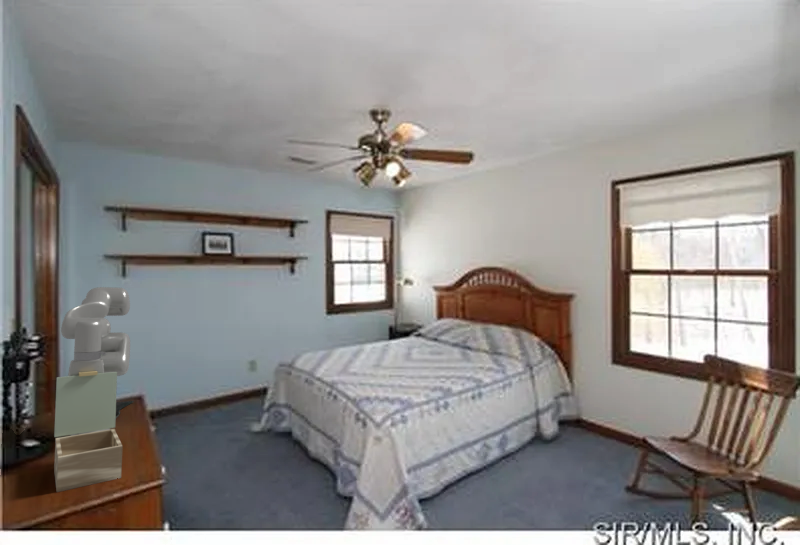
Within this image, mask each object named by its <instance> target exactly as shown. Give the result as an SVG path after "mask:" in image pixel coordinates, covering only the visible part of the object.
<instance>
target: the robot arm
mask: <svg viewBox="0 0 800 545" xmlns="http://www.w3.org/2000/svg"><path fill="white" fill-rule="evenodd" d="M130 302H131V301H130V295H129V292H128V291H127V289H125V288H123V287H109V286H108V287H107V286H105V287H104V286H103V287H102V286H100V287H93V288H91V289H90V290H88V291H87V293H86V296H85V298H84V299H83V300H82V302H81V303H80V305H78V306H75V307H73V308H71V309H69V310H68V311H67V312H66V313H65V315H64V317H63V320H62V322H61V325H60V326H61V327H60V332H61V335H62V337H63V338H65V339H67V340H74V350H73V360H70V363H69V368H68V375H67V376H76V375H79V372H90V371H97V372H98V373H109V372H117V377H120V376H124V375H126V374H127V373H128V371H129V368H130V359H131V358H130V356H131V338H130V336H129V334H128V333H125V332H122V331H121V332H111V330H112V327H111V323H110V321H109V320H108V318H106V317H113V316H114V317H117V316H118V317H119V316H126V315H127V314H128V313H129V311H130V308H131V303H130ZM110 429H111V428H109V429H103V430H97V431H90V432H84V433H78V434H72V435H69V436H73V435H79V434H85V433H91V432H98V431H104V430H110Z"/></svg>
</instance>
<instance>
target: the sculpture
mask: <svg viewBox="0 0 800 545" xmlns="http://www.w3.org/2000/svg"><path fill="white" fill-rule="evenodd" d="M133 403H134V400H129V401H116V419H117V418H119V416H120V414H121V410H122V409H123V408H125V407H127V406H129V405H131V404H133Z"/></svg>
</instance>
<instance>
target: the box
mask: <svg viewBox="0 0 800 545" xmlns="http://www.w3.org/2000/svg"><path fill="white" fill-rule="evenodd" d="M54 441H55V447H54V461H53V462H54V465H53V468H54V469H53V470H54V480H55V481H54V482H55V488H56V489H55V490H56V493H59V492H65V491H69V490H73V489H78V488H81V487H86V486H91V485H96V484H99V483H100V484H101V483H105V482H108V481H113V480H117V478H118V479H122V464H123V449H124V448H123V444H122V442H121V440H120V437H119V436H118V434H117V432H116V429H115V428H110V430H104V431H98V432H91V433H85V434H79V435H73V436H70V435H66V436H60V437H55V440H54Z"/></svg>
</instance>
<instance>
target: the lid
mask: <svg viewBox="0 0 800 545" xmlns="http://www.w3.org/2000/svg"><path fill="white" fill-rule="evenodd" d="M117 382H118V376H117V372H109V373H98V372H97V371H90V372H79V375H76V376H68V375H67V376H58V377H56V382H55V384H56V388H55V389H56V390H55V406H54V407H55V410H54V411H55V414H54V430H53V431H54V432H53V433H54V434H53V436H54V438H60V437H66V436H70V435H72V434H78V433H84V432H90V431H97V430H103V429H109V428H110V429H115V428H116V421H117V420H116V419H117V418H116V402H117V386H118V385H117Z"/></svg>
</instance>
